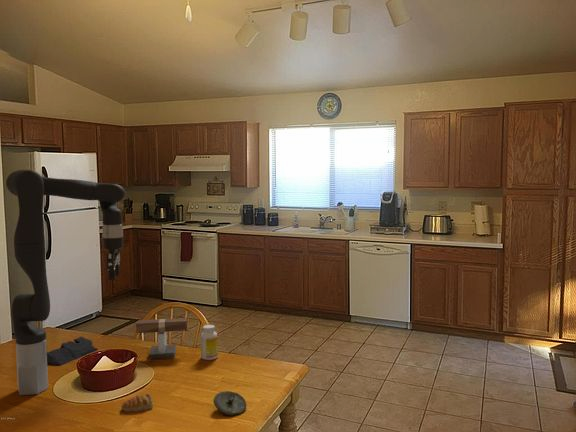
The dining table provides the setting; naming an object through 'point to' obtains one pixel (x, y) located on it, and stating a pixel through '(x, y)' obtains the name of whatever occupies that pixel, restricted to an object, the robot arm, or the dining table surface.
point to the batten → (161, 325)
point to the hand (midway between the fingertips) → (114, 277)
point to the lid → (229, 403)
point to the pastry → (138, 403)
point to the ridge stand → (162, 348)
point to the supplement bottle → (209, 343)
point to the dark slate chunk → (70, 351)
